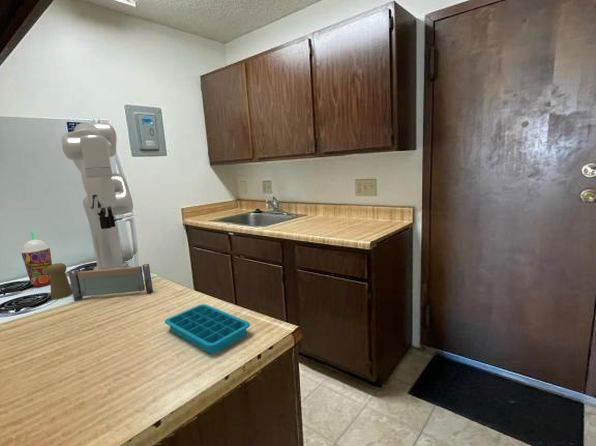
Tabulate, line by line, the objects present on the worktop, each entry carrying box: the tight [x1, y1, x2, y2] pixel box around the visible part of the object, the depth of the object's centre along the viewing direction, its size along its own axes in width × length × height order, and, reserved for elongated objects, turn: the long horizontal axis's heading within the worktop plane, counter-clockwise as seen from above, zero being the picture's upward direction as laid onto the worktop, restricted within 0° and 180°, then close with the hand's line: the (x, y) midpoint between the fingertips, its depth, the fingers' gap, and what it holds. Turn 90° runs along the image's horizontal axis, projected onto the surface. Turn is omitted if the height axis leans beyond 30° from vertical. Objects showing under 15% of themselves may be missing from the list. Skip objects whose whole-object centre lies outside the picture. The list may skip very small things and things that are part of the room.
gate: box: [77, 265, 146, 298], centre depth 102 cm, size 19×2×8 cm, turn 96°
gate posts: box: [68, 263, 154, 302], centre depth 102 cm, size 2×24×10 cm, turn 96°
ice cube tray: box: [164, 303, 251, 355], centre depth 76 cm, size 12×20×3 cm, turn 50°
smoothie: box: [20, 231, 53, 288], centre depth 117 cm, size 8×8×20 cm
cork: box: [47, 262, 73, 300], centre depth 105 cm, size 6×6×11 cm
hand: (108, 227), depth 109 cm, fingers closed
